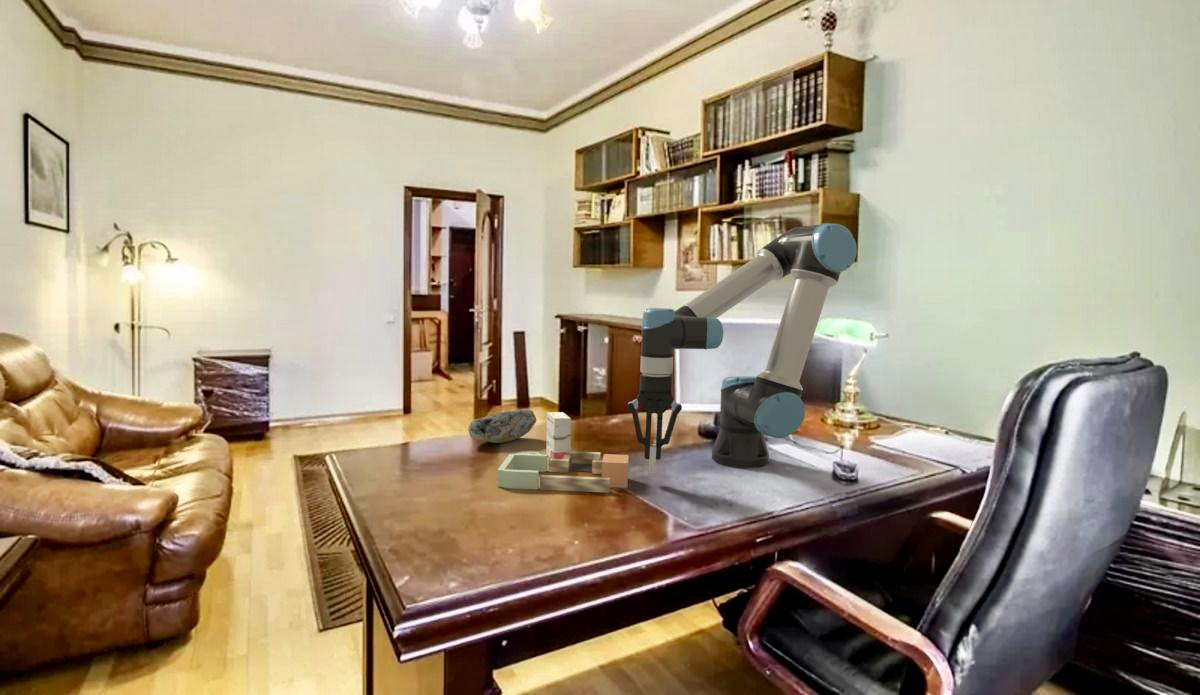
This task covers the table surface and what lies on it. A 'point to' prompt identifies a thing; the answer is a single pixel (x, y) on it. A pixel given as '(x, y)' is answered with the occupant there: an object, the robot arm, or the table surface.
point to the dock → (521, 471)
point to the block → (615, 469)
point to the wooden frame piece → (576, 483)
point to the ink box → (558, 435)
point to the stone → (502, 426)
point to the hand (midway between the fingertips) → (651, 472)
